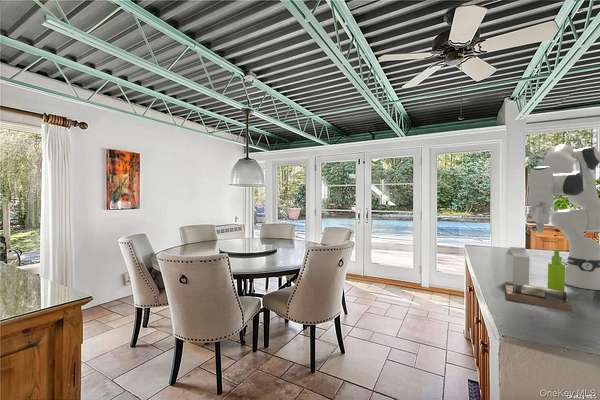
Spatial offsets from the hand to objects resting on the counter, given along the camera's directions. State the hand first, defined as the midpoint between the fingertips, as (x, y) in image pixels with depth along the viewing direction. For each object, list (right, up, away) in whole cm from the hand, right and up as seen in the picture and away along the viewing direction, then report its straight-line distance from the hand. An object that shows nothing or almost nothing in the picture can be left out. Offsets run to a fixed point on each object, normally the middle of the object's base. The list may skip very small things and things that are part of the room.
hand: (539, 232), depth 125 cm
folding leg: (-9, -25, -9) cm, 29 cm away
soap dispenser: (+13, -29, +5) cm, 32 cm away
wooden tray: (-6, -28, -4) cm, 29 cm away
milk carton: (+2, -29, +15) cm, 33 cm away
